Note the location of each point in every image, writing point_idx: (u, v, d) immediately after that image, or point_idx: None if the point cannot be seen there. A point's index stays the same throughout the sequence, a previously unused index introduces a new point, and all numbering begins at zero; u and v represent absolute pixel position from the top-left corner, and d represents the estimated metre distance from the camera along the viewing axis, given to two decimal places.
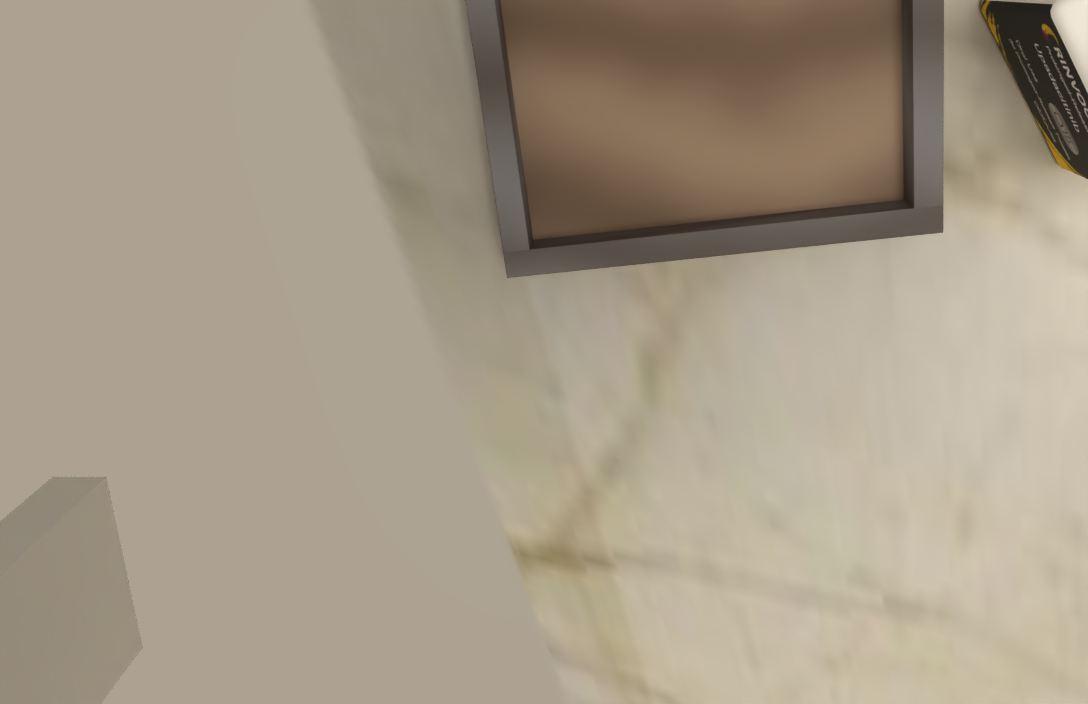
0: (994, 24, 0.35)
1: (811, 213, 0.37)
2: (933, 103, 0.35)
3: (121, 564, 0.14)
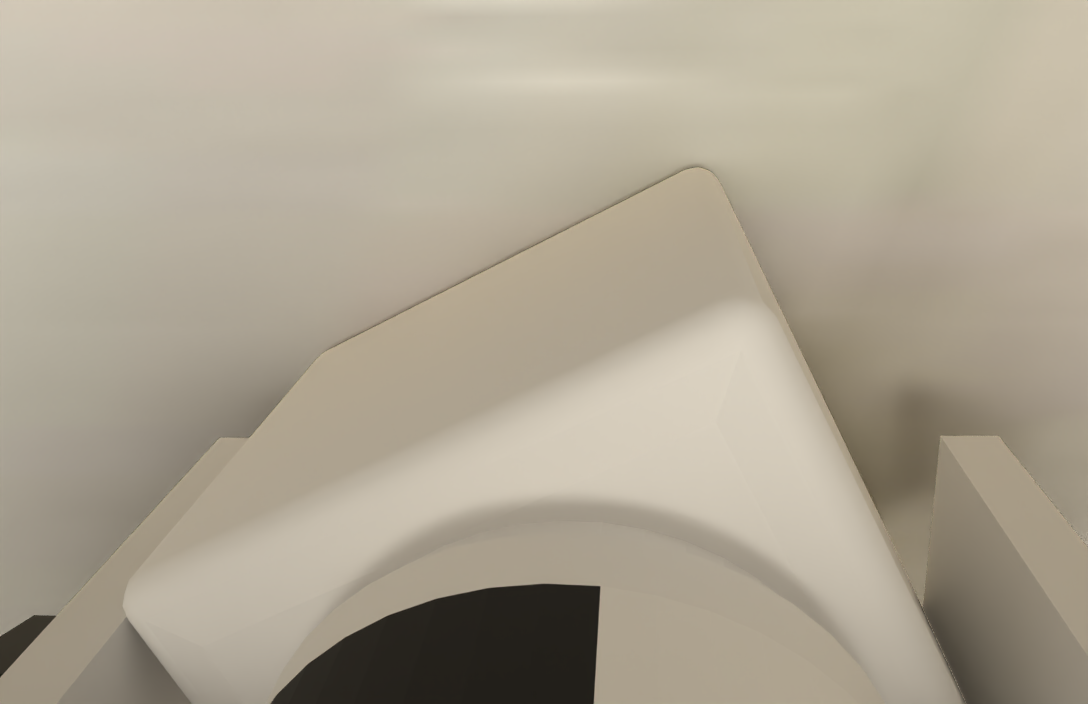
0: None
1: None
2: None
3: None
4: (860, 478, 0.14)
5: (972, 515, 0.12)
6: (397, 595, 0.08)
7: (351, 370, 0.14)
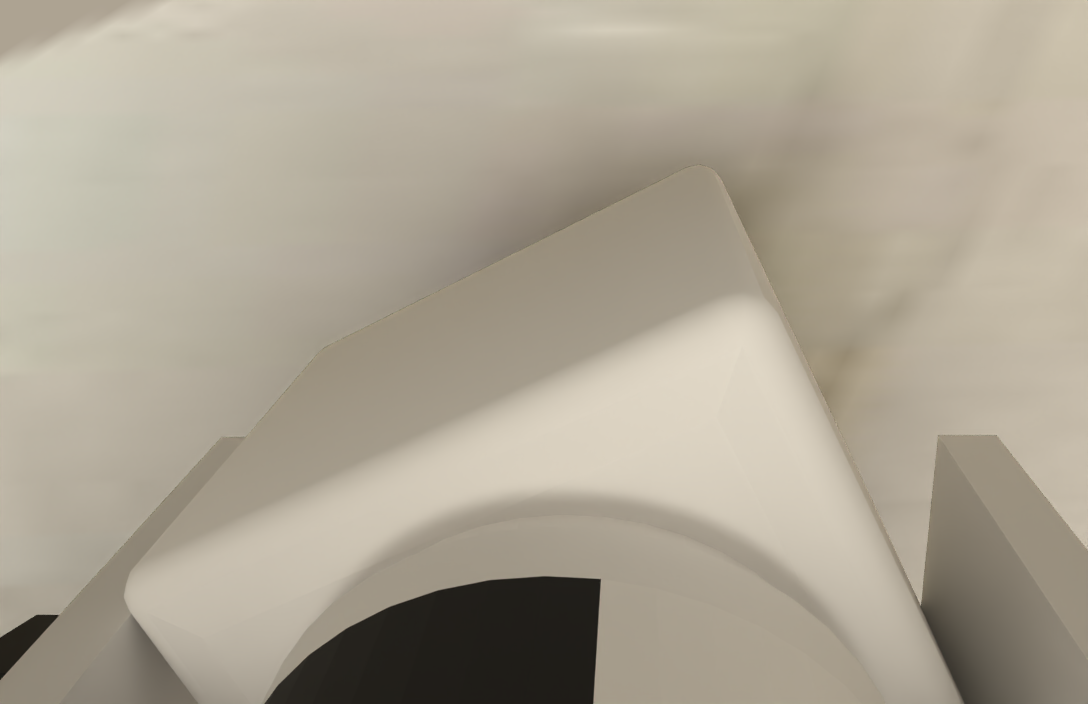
0: None
1: None
2: None
3: None
4: (859, 476, 0.14)
5: (969, 515, 0.12)
6: (399, 586, 0.08)
7: (352, 365, 0.14)
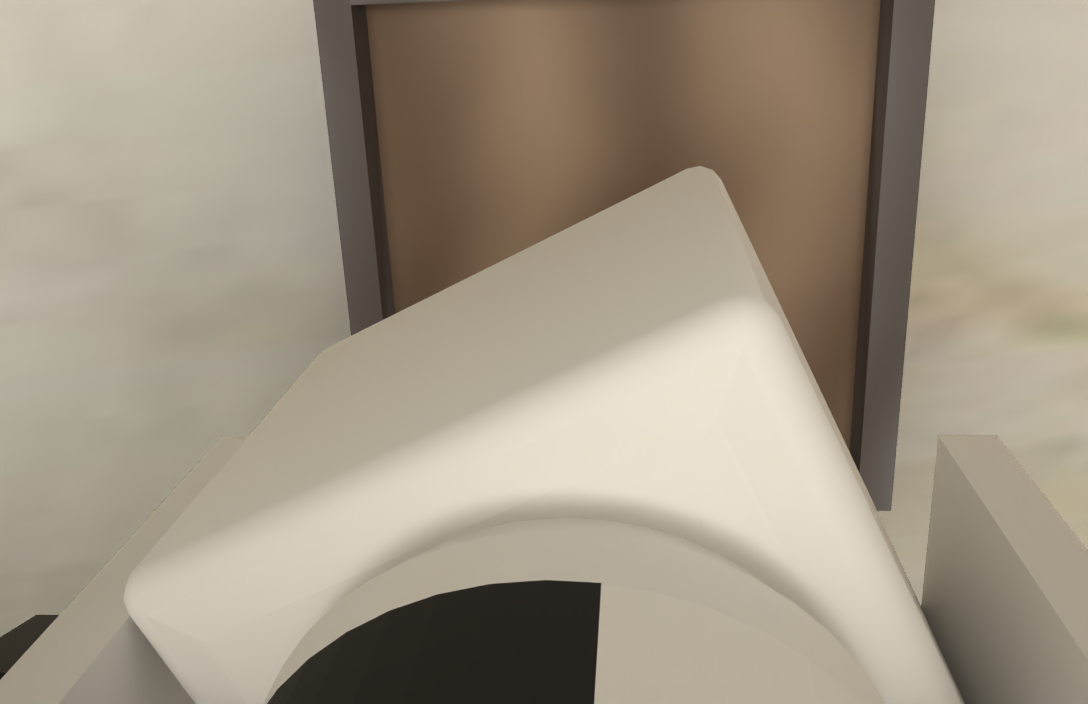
0: None
1: (877, 118, 0.27)
2: None
3: None
4: (860, 478, 0.14)
5: (970, 515, 0.12)
6: (399, 591, 0.08)
7: (352, 366, 0.14)
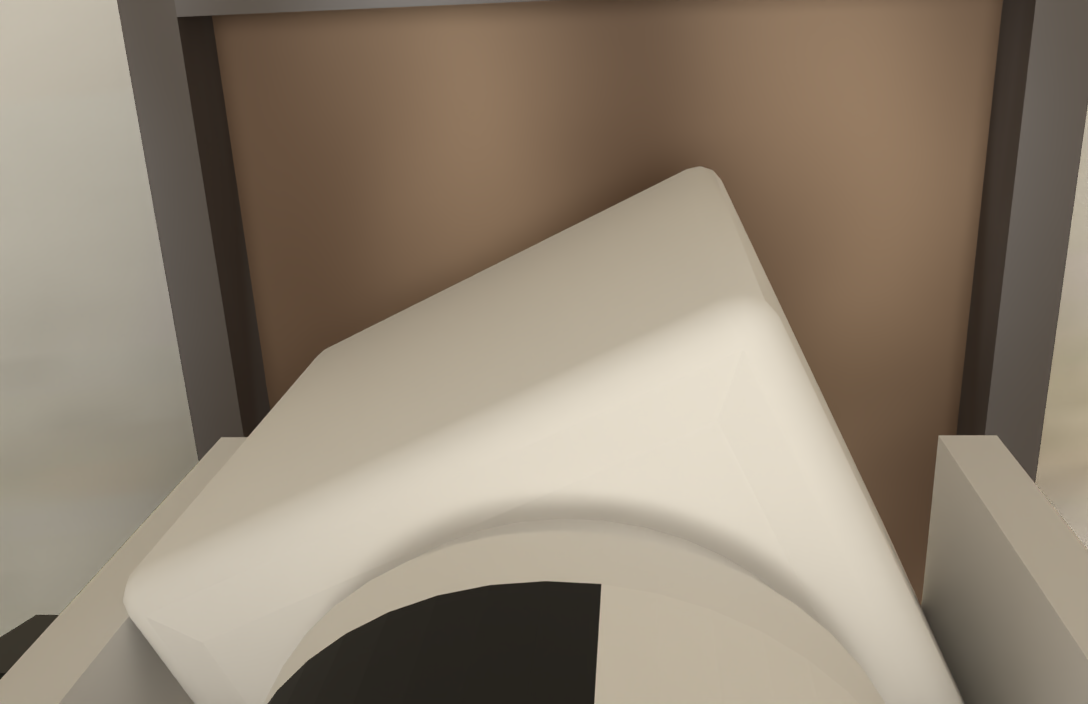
0: None
1: (994, 189, 0.18)
2: None
3: None
4: (861, 478, 0.14)
5: (970, 515, 0.12)
6: (398, 592, 0.08)
7: (352, 367, 0.14)
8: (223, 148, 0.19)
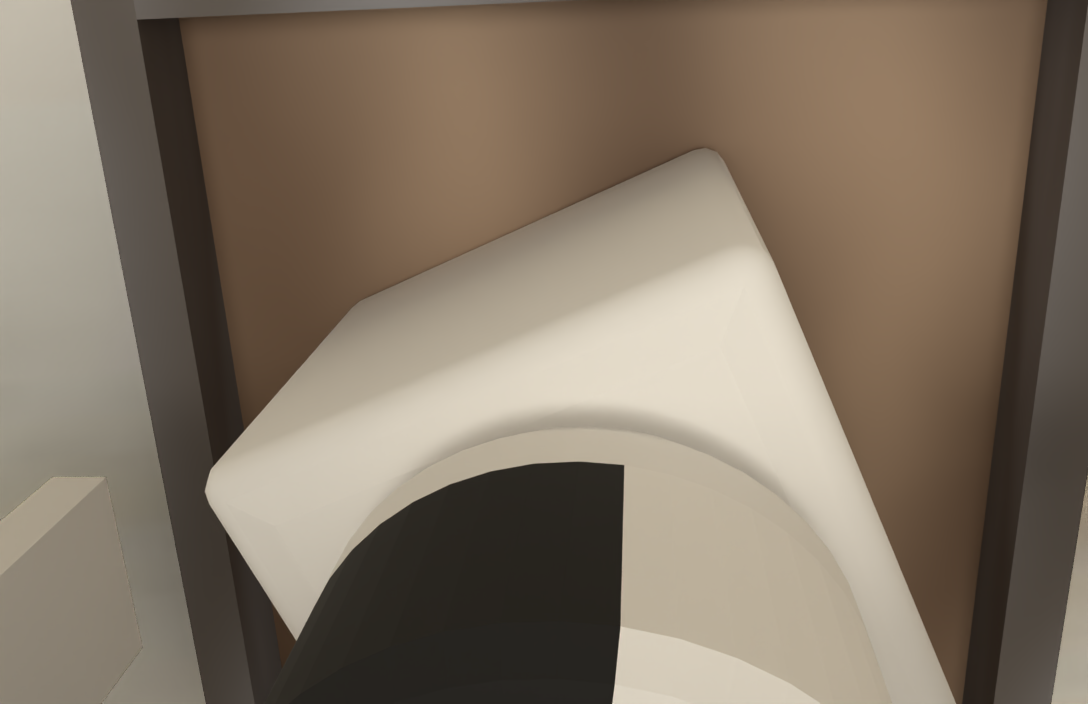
0: None
1: (1037, 209, 0.16)
2: None
3: (121, 563, 0.14)
4: None
5: None
6: (457, 471, 0.10)
7: (392, 312, 0.16)
8: (192, 162, 0.17)
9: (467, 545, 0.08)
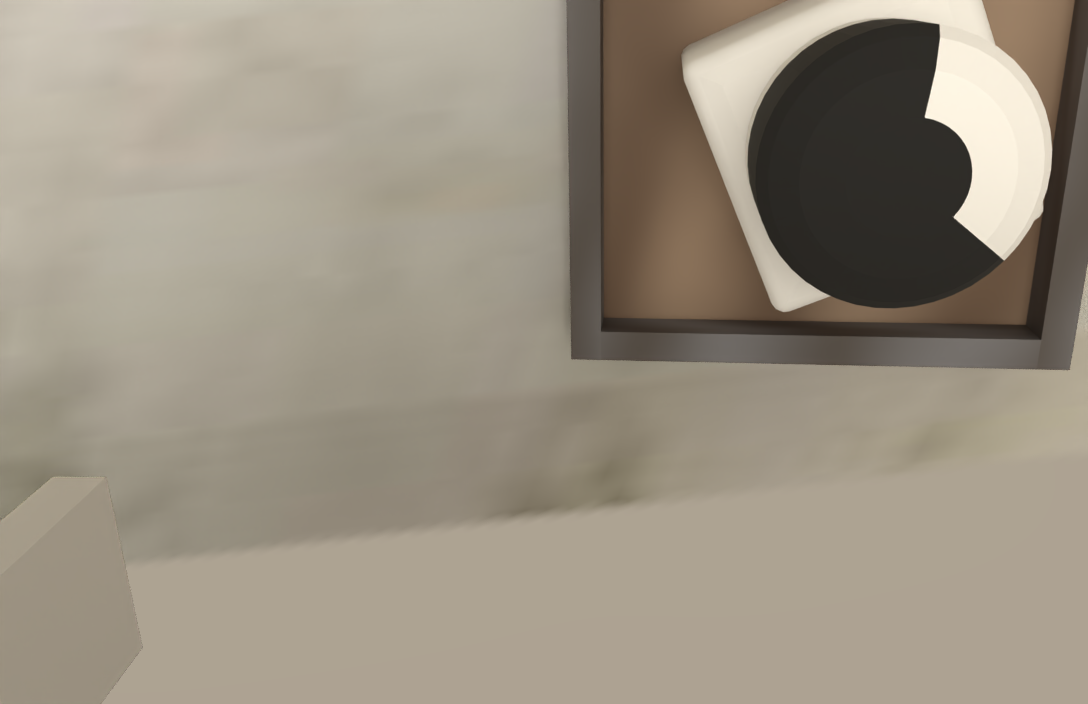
0: None
1: None
2: None
3: (121, 563, 0.14)
4: None
5: None
6: (835, 29, 0.23)
7: (730, 31, 0.29)
8: None
9: (864, 26, 0.21)
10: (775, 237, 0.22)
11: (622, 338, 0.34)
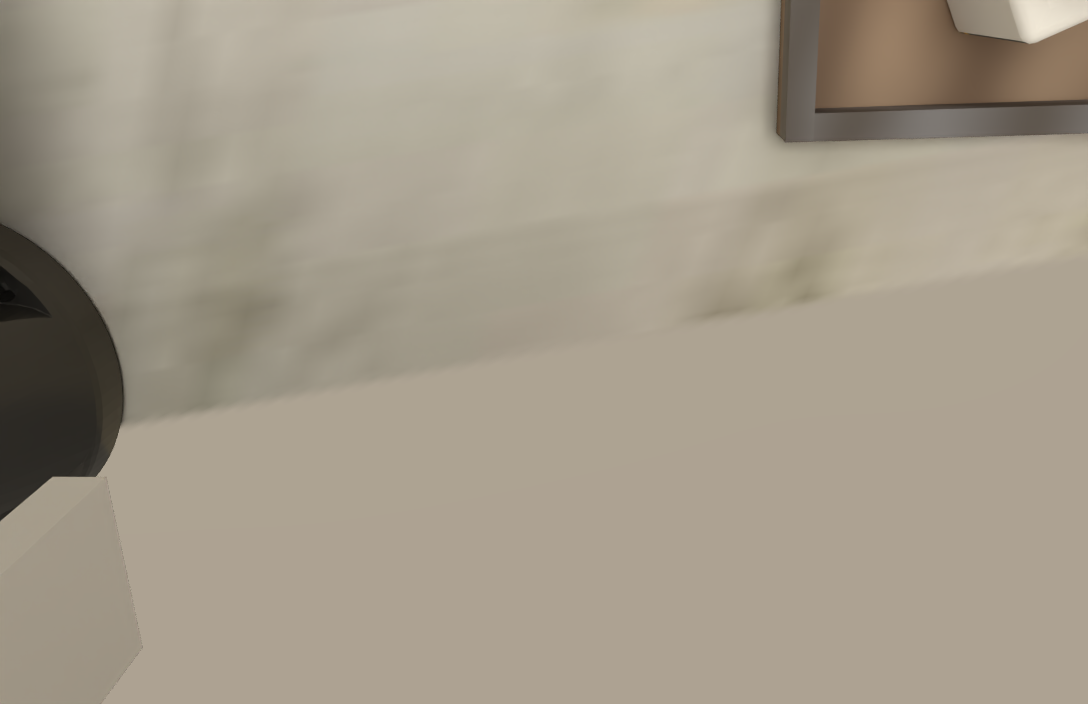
0: None
1: None
2: None
3: (121, 563, 0.14)
4: None
5: None
6: None
7: None
8: None
9: None
10: None
11: (834, 119, 0.36)
